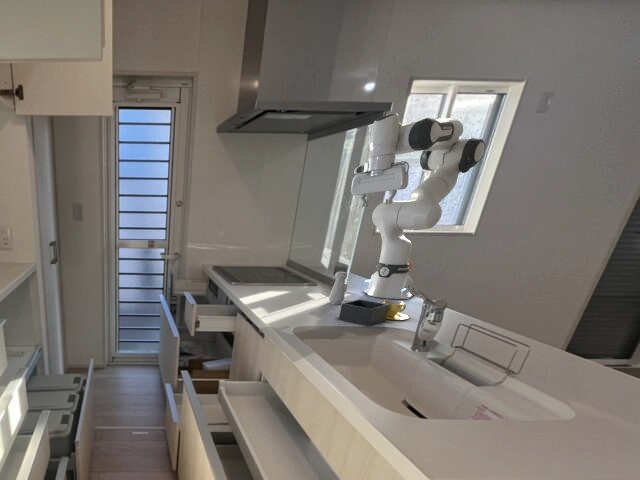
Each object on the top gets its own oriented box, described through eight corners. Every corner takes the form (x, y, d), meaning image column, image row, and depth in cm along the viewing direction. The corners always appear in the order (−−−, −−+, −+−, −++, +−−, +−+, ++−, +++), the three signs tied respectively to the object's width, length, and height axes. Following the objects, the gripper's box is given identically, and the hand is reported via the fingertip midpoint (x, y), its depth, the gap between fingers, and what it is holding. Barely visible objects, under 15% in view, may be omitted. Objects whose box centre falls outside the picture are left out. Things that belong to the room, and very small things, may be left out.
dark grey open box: (356, 314, 156) (359, 299, 153) (385, 320, 148) (389, 304, 145) (338, 319, 150) (341, 303, 148) (368, 325, 142) (371, 309, 140)
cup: (382, 321, 147) (386, 306, 145) (365, 312, 158) (368, 298, 156) (415, 320, 147) (420, 305, 145) (396, 312, 158) (399, 298, 155)
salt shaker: (330, 301, 176) (336, 270, 170) (344, 303, 172) (351, 271, 167) (326, 303, 171) (332, 272, 166) (340, 305, 168) (347, 273, 163)
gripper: (415, 159, 144) (409, 202, 149) (361, 169, 161) (357, 207, 166) (404, 160, 142) (398, 203, 146) (350, 170, 159) (347, 208, 164)
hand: (376, 205), depth 157 cm, fingers open, 8 cm apart
